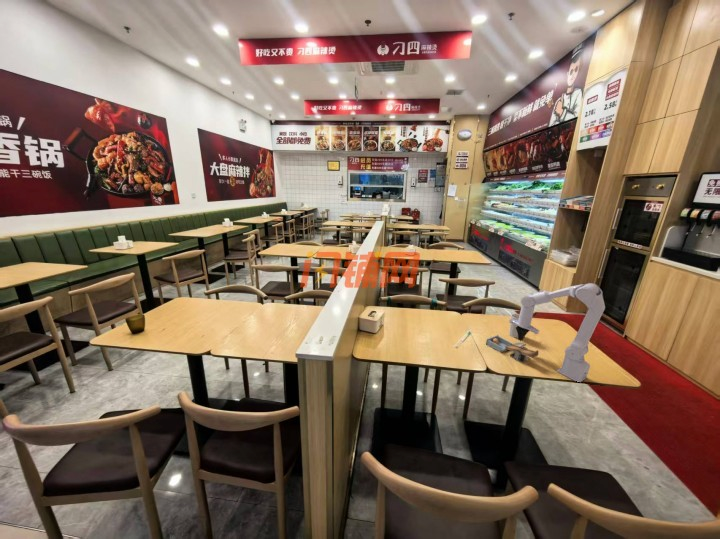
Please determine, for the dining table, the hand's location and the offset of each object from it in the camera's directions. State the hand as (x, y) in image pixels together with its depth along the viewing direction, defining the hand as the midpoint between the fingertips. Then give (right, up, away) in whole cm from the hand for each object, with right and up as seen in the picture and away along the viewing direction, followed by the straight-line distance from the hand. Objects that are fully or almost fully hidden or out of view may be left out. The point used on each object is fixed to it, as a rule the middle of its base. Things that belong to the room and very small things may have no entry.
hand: (520, 339), depth 149 cm
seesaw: (-1, -4, -5) cm, 7 cm away
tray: (-10, -5, +4) cm, 11 cm away
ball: (-11, -2, +5) cm, 12 cm away
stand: (-4, -8, -6) cm, 10 cm away
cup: (+6, -1, +16) cm, 18 cm away
